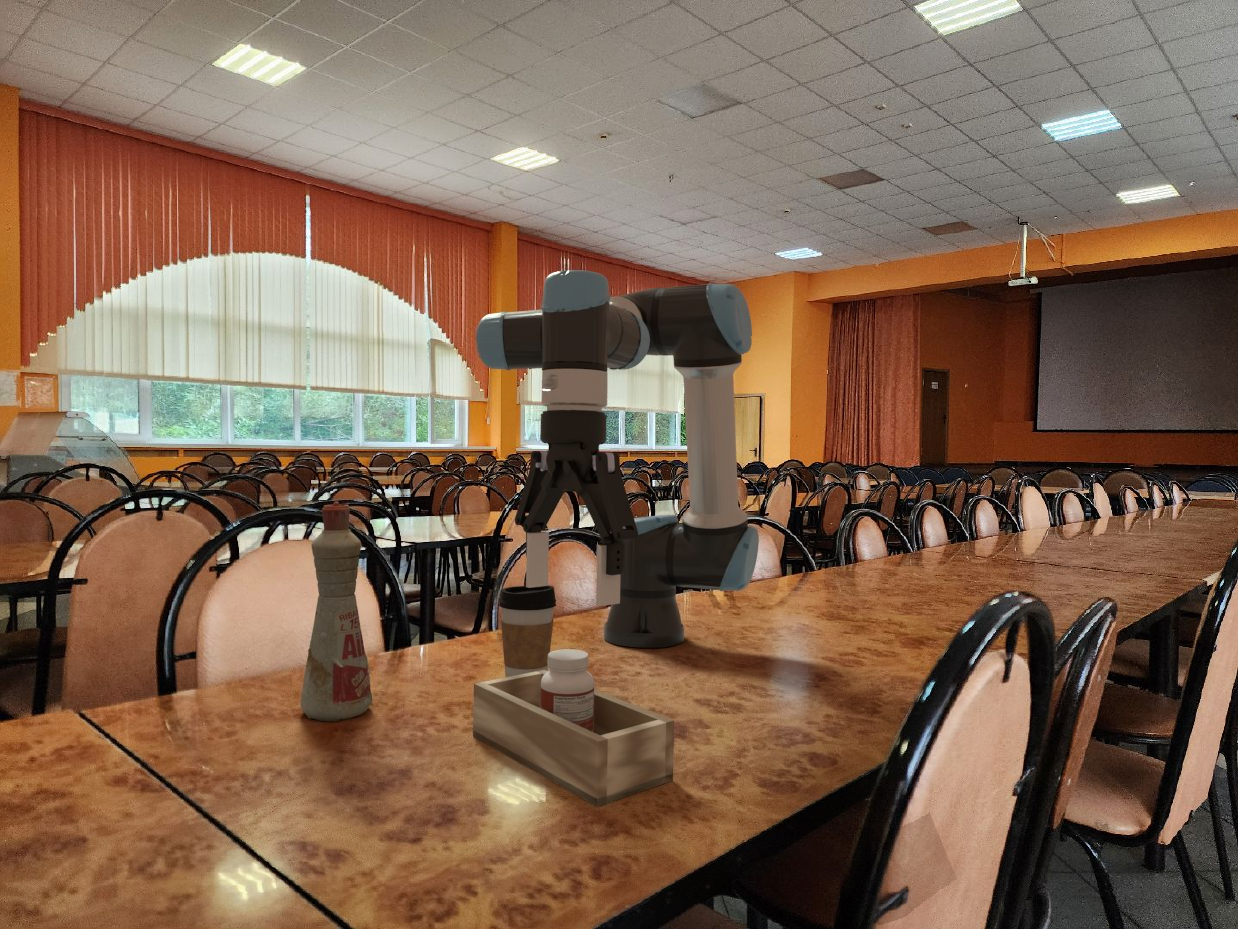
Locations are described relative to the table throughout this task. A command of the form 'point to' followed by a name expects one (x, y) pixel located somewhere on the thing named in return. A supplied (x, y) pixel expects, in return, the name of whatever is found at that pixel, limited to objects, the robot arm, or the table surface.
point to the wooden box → (576, 740)
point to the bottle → (336, 627)
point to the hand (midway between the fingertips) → (570, 595)
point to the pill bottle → (569, 688)
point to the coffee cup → (526, 628)
